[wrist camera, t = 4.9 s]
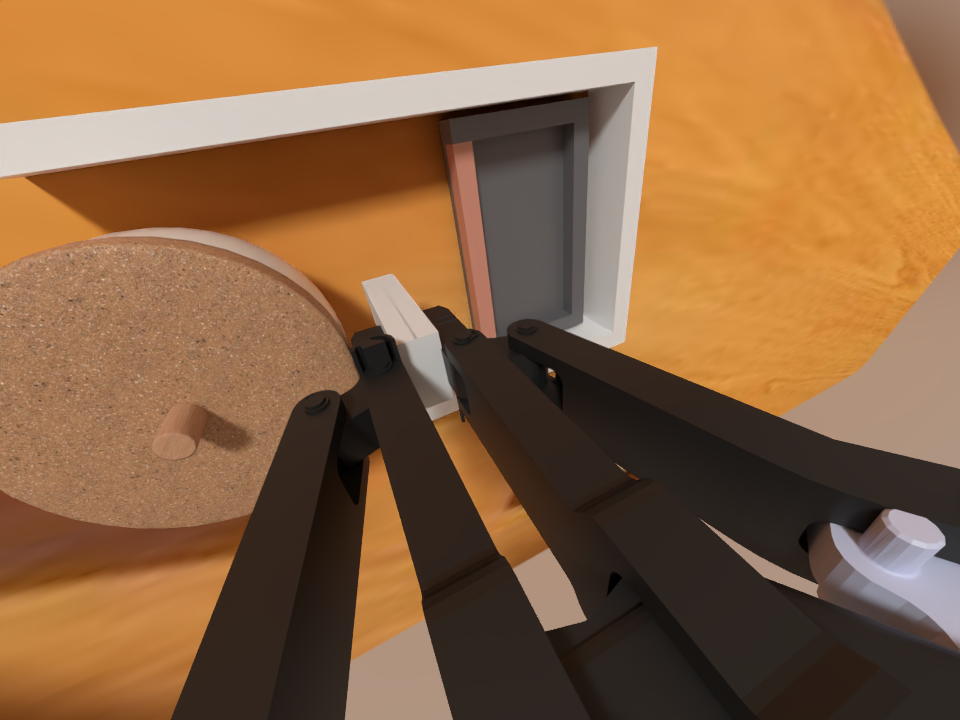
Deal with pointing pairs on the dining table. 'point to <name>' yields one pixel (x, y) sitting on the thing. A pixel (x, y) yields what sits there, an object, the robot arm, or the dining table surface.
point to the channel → (256, 117)
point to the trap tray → (521, 212)
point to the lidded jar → (156, 374)
